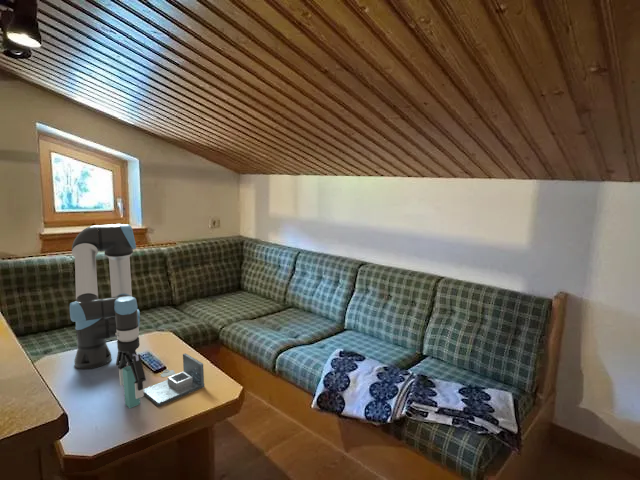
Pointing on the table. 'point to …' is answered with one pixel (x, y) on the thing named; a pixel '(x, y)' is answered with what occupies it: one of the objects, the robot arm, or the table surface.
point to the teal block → (129, 388)
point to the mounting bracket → (167, 373)
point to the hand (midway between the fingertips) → (131, 390)
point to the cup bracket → (178, 383)
